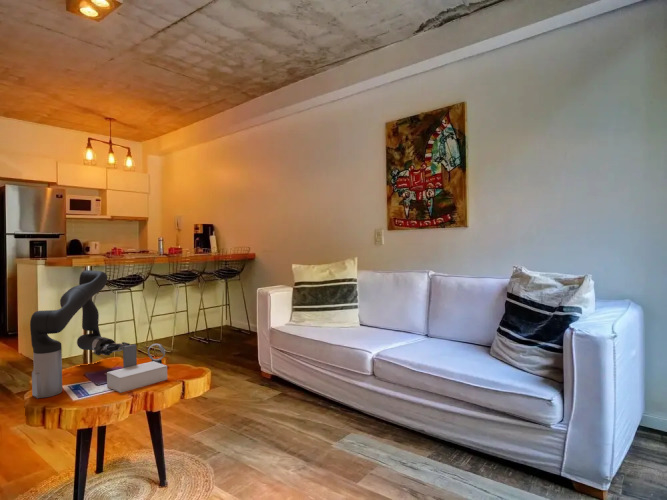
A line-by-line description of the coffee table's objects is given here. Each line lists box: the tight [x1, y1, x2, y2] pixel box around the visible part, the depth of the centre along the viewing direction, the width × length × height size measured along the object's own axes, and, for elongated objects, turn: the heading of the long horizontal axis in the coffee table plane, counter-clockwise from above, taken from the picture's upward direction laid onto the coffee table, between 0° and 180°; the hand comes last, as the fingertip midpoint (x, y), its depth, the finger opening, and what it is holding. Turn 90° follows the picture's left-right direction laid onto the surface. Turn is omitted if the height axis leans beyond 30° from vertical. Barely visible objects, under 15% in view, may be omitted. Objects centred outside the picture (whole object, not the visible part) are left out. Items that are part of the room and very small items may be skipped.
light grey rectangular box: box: [106, 360, 168, 393], centre depth 174 cm, size 20×12×6 cm, turn 142°
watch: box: [147, 343, 167, 364], centre depth 197 cm, size 6×8×11 cm
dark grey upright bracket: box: [122, 344, 138, 368], centre depth 175 cm, size 18×13×14 cm
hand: (119, 350), depth 185 cm, fingers open, 8 cm apart
